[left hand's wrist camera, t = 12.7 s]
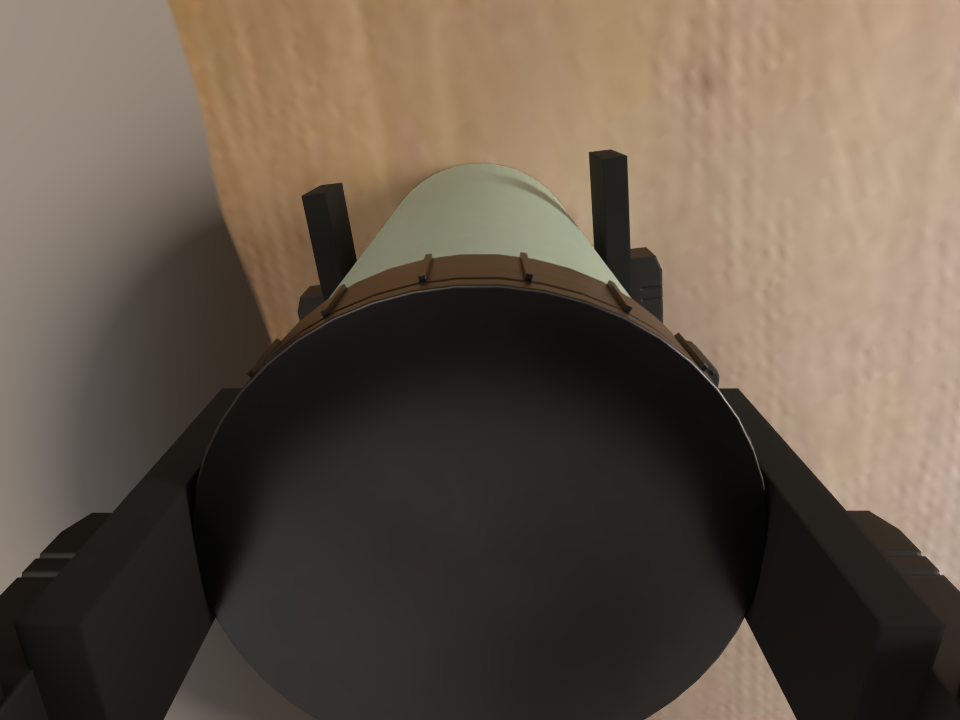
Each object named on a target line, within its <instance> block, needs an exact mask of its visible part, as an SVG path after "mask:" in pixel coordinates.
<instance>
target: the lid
mask: <svg viewBox="0 0 960 720" xmlns="http://www.w3.org/2000/svg"><path fill="white" fill-rule="evenodd" d="M706 369H708V366H707V365H706V364H705V363H704V362H703V360H702V359H701V358H700V357H699V356H698V355H697V353H696V352H695V351H694V350H693V349H692V347H691V346H690V345H689V344H688V343H687V342H686V340H685V339H684V338H683V337H682V336H681V335H680V333H677V334H676V335H675V336H674V335H673V334H672V333H671V332H670V331H669V330H668V329H667V328H666V327H665V326H664V324H663V323H662V322H661V321H660V320H659V319H657V318H656V317H655V316H654V315H652V314H651V313H650V312H648V311H647V310H646V309H645V308H643V307H642V306H641V305H640V304H638V303H637V302H636V301H634V300H633V299H632V298H630V297H628V296H627V295H625V294H623V293H622V292H621V291H620V290H619V288H618V287H617V286H616V284H615V283H614V282H612V281H610V280H609V281H608V283H607V284H606V283H604V282H602V281H600V280H597V279H595V278H593V277H590V276H588V275H585V274H583V273H580V272H578V271H575V270H573V269H571V268H567V267H564V266H560V265H556V264H552V263H548V262H545V261H541V260H537V259H532V258H528V256H527V253H524V252H520V257H516V256H508V255H500V254H459V255H452V256H444V257H437V258H433V257H432V254H426V255H425V257H424V259H423V260H419V261H416V262H412V263H408V264H405V265H401V266H397V267H394V268H390V269H387V270H385V271H382V272H380V273H378V274H375V275H373V276H370V277H368V278H366V279H363V280H361V281H359V282H356V283H354V284H353V285H351V286H349V287H348V288H347V287H346V286H345V284H343V285H341V286H339V287H338V289H337V290H336V291H335V293H334V294H333V295H332V297H331V298H329V299H327V300H326V301H325V302H323V303H322V304H321V305H320V306H318V307H317V308H316V309H315V310H313V311H312V312H311V313H310V314H308V315H307V316H306V317H305V318H303V319H302V320H301V321H300V322H299V323H298V324H297V325H296V326H295V327H294V328H293V329H292V330H291V331H290V332H289V333H288V334H287V336H286V337H285V338H284V339H283V340H282V341H280V340H279V339H278V338H277V339H276V340H275V341H274V342H273V343H272V345H271V346H270V347H269V348H268V349H267V350H266V352H265V353H264V354H263V355H262V356H261V358H260V359H259V360H258V361H257V362H256V364H255V365H254V366H253V367H252V368H251V369H250V371H249V372H248V373H247V375H249V376H250V377H251V378H250V380H249V381H248V382H247V383H246V384H245V386H244V387H243V388H242V389H241V391H240V392H239V393H238V395H237V396H236V398H235V399H234V401H233V402H232V404H231V405H230V407H229V408H228V409H227V411H226V412H225V414H224V415H223V417H222V418H221V420H220V422H219V424H218V426H217V428H216V430H215V432H214V434H213V437H212V439H211V441H210V443H209V445H208V447H207V449H206V452H205V455H204V459H203V462H202V465H201V469H200V472H199V476H198V479H197V483H196V491H195V499H194V507H193V538H194V545H195V550H196V555H197V561H198V566H199V571H200V576H201V581H202V585H203V588H204V590H205V593H206V596H207V599H208V602H209V604H210V607H211V609H212V611H213V612H214V614H215V616H216V618H217V620H218V622H219V624H220V626H221V628H222V629H223V631H224V633H225V635H226V636H227V637H228V639H229V640H230V642H231V643H232V644H233V646H234V647H235V648H236V650H237V651H238V653H239V654H240V655H241V657H242V658H243V659H244V660H245V661H246V663H247V664H248V665H249V666H250V667H251V668H252V669H253V670H254V671H255V672H256V673H257V674H258V675H259V676H260V678H261V679H262V680H263V681H264V682H266V683H267V684H268V685H269V686H270V687H272V688H273V689H274V690H275V691H276V692H278V693H279V694H280V695H281V696H282V697H283V698H285V699H286V700H287V701H288V702H290V703H291V704H293V705H295V706H296V707H297V708H299V709H300V710H302V711H303V712H305V713H306V714H308V715H309V716H311V717H312V718H314V719H316V720H644V719H646V718H648V717H650V716H651V715H653V714H654V713H656V712H657V711H659V710H660V709H662V708H663V707H665V706H666V705H667V704H669V703H670V702H672V701H673V700H675V699H676V698H677V697H678V696H680V695H681V694H682V693H683V692H684V691H685V690H687V689H688V688H689V687H690V686H691V685H692V684H694V683H695V682H696V681H697V680H698V679H699V678H700V677H701V676H702V675H703V674H704V673H705V672H706V671H707V669H708V668H709V667H710V666H711V665H712V664H713V663H714V662H715V661H716V660H717V659H718V657H719V656H720V655H721V653H722V652H723V651H724V649H725V648H726V646H727V645H728V644H729V642H730V641H731V639H732V638H733V637H734V635H735V634H736V632H737V631H738V629H739V627H740V625H741V623H742V621H743V619H744V617H745V615H746V613H747V611H748V609H749V608H750V606H751V603H752V600H753V598H754V595H755V592H756V589H757V586H758V583H759V578H760V573H761V568H762V563H763V558H764V552H765V547H766V541H767V525H768V510H767V502H766V495H765V487H764V480H763V477H762V473H761V470H760V467H759V463H758V460H757V457H756V454H755V450H754V448H753V445H752V442H751V439H750V437H749V436H748V435H747V433H746V431H745V429H744V427H743V425H742V423H741V421H740V419H739V417H738V416H737V414H736V413H735V411H734V410H733V408H732V407H731V406H730V404H729V403H728V401H727V400H726V399H725V397H724V396H723V394H722V393H721V391H720V390H719V389H718V387H717V386H716V385H715V384H714V382H713V381H712V380H711V379H710V378H709V376H708V375H707V374H706V373H705V370H706Z"/></svg>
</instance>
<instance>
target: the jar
mask: <svg viewBox="0 0 960 720" xmlns="http://www.w3.org/2000/svg"><path fill="white" fill-rule="evenodd" d="M520 252H524V253H527V256H528V258H532V259H537V260H541V261H545V262H548V263H552V264H556V265H560V266H564V267H567V268H571V269H573V270H575V271H578V272H580V273H583V274H585V275H588V276H590V277H593V278H595V279H597V280H600V281H602V282H604V283H606V284H607V283H608V281H609V280H610V281H612V282H614V283H615V284H616V286H617V287H618V288H619V290H620V291H621V292H622V293H623V294H625V295H627V296H628V297H630V296H629V294H628V293H627V292H626V290H625V289H624V288H623V287H622V285H621V284H620V283H619V281H618V280H617V279H616V277H615V276H614V275H613V273H612V272H611V271H610V269H609V268H608V267H607V265H606V264H605V263H604V261H603V260H602V259H601V257H600V256H599V255H598V253H597V252H596V251H595V249H594V248H593V247H592V245H591V244H590V243H589V241H588V240H587V239H586V237H585V236H584V235H583V233H582V232H581V231H580V229H579V228H578V227H577V225H576V224H575V223H574V221H573V220H572V219H571V217H570V216H569V215H568V213H567V212H566V211H565V209H564V208H563V207H562V205H561V204H560V203H559V201H558V200H557V199H556V198H555V197H554V196H553V195H552V194H551V192H550V191H549V190H548V189H547V188H545V187H544V186H543V185H542V184H540V183H539V182H538V181H536V180H535V179H533V178H531V177H530V176H528V175H526V174H525V173H522V172H520V171H517V170H515V169H513V168H509V167H505V166H502V165H496V164H488V163H472V164H465V165H459V166H455V167H452V168H448V169H445V170H443V171H441V172H438V173H436V174H434V175H432V176H431V177H429V178H427V179H426V180H424V181H423V182H421V183H420V184H419V185H418V186H416V187H415V188H414V189H413V190H412V191H411V192H410V193H409V194H408V195H407V196H406V197H405V198H404V199H403V201H402V202H401V203H400V205H399V206H398V207H397V209H396V210H395V211H394V213H393V214H392V215H391V217H390V218H389V219H388V221H387V222H386V223H385V225H384V226H383V227H382V229H381V230H380V231H379V233H378V234H377V235H376V237H375V238H374V239H373V241H372V242H371V243H370V245H369V246H368V247H367V248H366V250H365V251H364V252H363V254H362V255H361V256H360V258H359V259H358V260H357V262H356V263H355V264H354V266H353V267H352V268H351V270H350V271H349V272H348V274H347V275H346V276H345V278H344V279H343V280H342V282H341V283H340V284H339V286H341V285H343V284H345V286H346V287H347V288H348V287H349V286H351V285H353V284H354V283H356V282H359V281H361V280H363V279H366V278H368V277H370V276H373V275H375V274H378V273H380V272H382V271H385V270H387V269H390V268H394V267H397V266H401V265H405V264H408V263H412V262H416V261H419V260H423V259H424V257H425V255H426V254H432V257H433V258H437V257H444V256H452V255H459V254H500V255H508V256H516V257H520ZM339 286H338V287H339ZM338 287H337V288H336V290H337V289H338ZM336 290H335V291H336ZM335 291H334V292H333V294H334V293H335ZM333 294H332V295H333ZM332 295H331V296H330V298H331V297H332ZM630 298H631V297H630Z"/></svg>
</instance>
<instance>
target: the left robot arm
mask: <svg viewBox="0 0 960 720" xmlns="http://www.w3.org/2000/svg"><path fill="white" fill-rule="evenodd" d="M719 390H720V391H721V393H722V394H723V396H724V397H725V399H726V400H727V401H728V403H729V404H730V406H731V407H732V408H733V410H734V411H735V413H736V414H737V416H738V417H739V419H740V421H741V423H742V425H743V427H744V429H745V431H746V433H747V435H748V436H749V437H750V439H751V442H752V445H753V448H754V450H755V454H756V457H757V460H758V463H759V467H760V470H761V473H762V477H763V480H764V487H765V495H766V502H767V510H768V525H767V541H766V547H765V552H764V558H763V563H762V568H761V573H760V578H759V583H758V586H757V589H756V592H755V595H754V598H753V600H752V603H751V606H750V608H749V609H748V611H747V613H746V615H745V619H746V621H747V622H748V624H749V626H750V628H751V630H752V632H753V634H754V636H755V638H756V640H757V642H758V644H759V646H760V648H761V650H762V652H763V654H764V656H765V658H766V660H767V662H768V664H769V666H770V668H771V670H772V672H773V674H774V676H775V678H776V679H777V681H778V683H779V685H780V687H781V689H782V691H783V693H784V695H785V697H786V699H787V701H788V703H789V705H790V707H791V709H792V711H793V713H794V715H795V717H796V719H797V720H960V591H959V590H958V589H957V588H956V587H955V586H954V585H953V584H952V583H951V582H950V581H949V580H948V579H947V578H946V577H945V576H944V575H940V574H939V570H938V569H937V568H936V567H935V566H934V565H933V564H932V563H931V562H930V561H929V560H928V559H927V557H926V556H921V551H920V550H919V549H918V548H917V547H916V546H915V545H914V544H913V543H912V542H911V541H910V540H909V539H908V538H907V537H906V536H905V535H904V534H903V533H902V532H901V531H900V530H899V529H898V528H896V527H894V526H893V525H891V524H889V523H888V522H886V521H884V520H883V519H881V518H880V517H878V516H876V515H875V514H873V513H871V512H870V511H846V510H845V509H844V508H843V506H842V505H841V504H840V503H839V502H838V501H837V500H836V499H835V497H834V496H833V495H832V494H831V493H830V492H829V491H828V490H827V488H826V487H825V486H824V485H823V484H822V483H821V482H820V481H819V479H818V478H817V477H816V476H815V475H814V474H813V473H812V471H811V470H810V469H809V468H808V467H807V466H806V465H805V464H804V462H803V461H802V460H801V459H800V458H799V457H798V456H797V455H796V453H795V452H794V451H793V450H792V449H791V448H790V447H789V446H788V444H787V443H786V442H785V441H784V440H783V439H782V438H781V436H780V435H779V434H778V433H777V432H776V431H775V430H774V429H773V427H772V426H771V425H770V424H769V423H768V422H767V421H766V420H765V418H764V417H763V416H762V415H761V414H760V413H759V412H758V411H757V409H756V408H755V407H754V406H753V405H752V404H751V403H750V401H749V400H748V399H747V398H746V397H745V396H744V395H743V394H742V392H741V391H740V390H739V389H719ZM240 391H241V389H222V390H221V391H220V392H219V393H218V394H217V395H216V396H215V397H214V399H213V400H212V401H211V402H210V403H209V404H208V405H207V406H206V408H205V409H204V410H203V411H202V412H201V413H200V414H199V415H198V417H197V418H196V419H195V420H194V421H193V422H192V423H191V425H190V426H189V427H188V428H187V429H186V430H185V431H184V432H183V434H182V435H181V436H180V437H179V438H178V439H177V440H176V441H175V443H174V444H173V445H172V446H171V447H170V448H169V449H168V451H167V452H166V453H165V454H164V455H163V456H162V457H161V458H160V460H159V461H158V462H157V463H156V464H155V465H154V466H153V467H152V469H151V470H150V471H149V472H148V473H147V474H146V475H145V476H144V478H143V479H142V480H141V481H140V482H139V483H138V484H137V486H136V487H135V488H134V489H133V490H132V491H131V492H130V493H129V495H128V496H127V497H126V498H125V499H124V500H123V501H122V502H121V504H120V505H119V506H118V507H117V508H116V509H115V510H114V512H113V513H91V514H90V515H88V516H86V517H85V518H83V519H82V520H80V521H78V522H77V523H75V524H74V525H72V526H70V527H69V528H67V529H65V530H64V531H62V532H61V533H60V534H59V535H58V536H57V537H56V538H55V539H54V540H53V541H52V542H51V543H50V544H49V545H48V546H47V547H46V549H45V550H44V551H43V552H42V553H41V554H40V558H39V559H35V560H34V561H33V562H32V563H31V564H30V565H29V566H28V567H27V568H26V569H25V570H24V571H23V572H22V577H21V578H17V579H16V580H15V581H14V582H13V583H12V584H11V585H10V586H9V587H8V588H7V589H6V590H5V591H4V592H3V593H2V594H1V595H0V720H164V718H165V716H166V714H167V712H168V710H169V708H170V706H171V704H172V702H173V700H174V698H175V696H176V694H177V692H178V690H179V688H180V686H181V684H182V682H183V680H184V678H185V676H186V674H187V672H188V670H189V668H190V666H191V665H192V662H193V661H194V659H195V657H196V655H197V653H198V651H199V649H200V647H201V645H202V643H203V641H204V639H205V637H206V635H207V633H208V631H209V629H210V627H211V625H212V623H213V621H214V619H215V617H216V616H215V614H214V612H213V611H212V609H211V607H210V604H209V602H208V599H207V596H206V593H205V590H204V588H203V585H202V581H201V576H200V571H199V566H198V561H197V555H196V550H195V545H194V538H193V507H194V499H195V491H196V483H197V479H198V476H199V472H200V469H201V465H202V462H203V459H204V455H205V452H206V449H207V447H208V445H209V443H210V441H211V439H212V437H213V434H214V432H215V430H216V428H217V426H218V424H219V422H220V420H221V418H222V417H223V415H224V414H225V412H226V411H227V409H228V408H229V407H230V405H231V404H232V402H233V401H234V399H235V398H236V396H237V395H238V393H239V392H240Z"/></svg>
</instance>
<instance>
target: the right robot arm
mask: <svg viewBox="0 0 960 720" xmlns="http://www.w3.org/2000/svg"><path fill="white" fill-rule="evenodd" d="M589 162H590V180H591V198H592V216H593V234H594V249H595V251H596V252H597V253H598V255H599V256H600V257H601V259H602V260H603V261H604V263H605V264H606V265H607V267H608V268H609V269H610V271H611V272H612V273H613V275H614V276H615V277H616V279H617V280H618V281H619V283H620V284H621V285H622V287H623V288H624V289H625V290H626V292H627V293H628V294H629V296H630V297H631V298H632V299H633V300H634V301H636V302H637V303H638V304H640V305H641V306H642V307H643V308H645V309H646V310H647V311H648V312H650V313H651V314H652V315H654V316H655V317H656V318H657V319H659V320H660V321H661V322H662V323H663V300H662V297H663V295H662V269H661V267H660V264H659V262H658V260H657V258H656V256H655V255H654V254H653V253H652V252H651V251H649V250H648V249H647V248H646V247H644V248H636V249H630V226H629V198H628V170H627V156H626V155H623V154H621V153H618V152H616V151H613V150H603V151H595V152H589ZM302 201H303V205H304V210H305V215H306V219H307V224H308V229H309V233H310V238H311V243H312V247H313V252H314V257H315V261H316V266H317V271H318V275H319V280H320V285H316V286H310V287H309V288H308V289H307V290H306V291H305V292H304V294H303V295H302V296H301V297H300V302H299V308H298V315H299V319H300V321H301V320H302V319H303V318H305V317H306V316H307V315H308V314H310V313H311V312H312V311H313V310H315V309H316V308H317V307H318V306H320V305H321V304H322V303H323V302H325V301H326V300H327V299H329V298H330V296H331V295H332V294H333V292H334V291H335V290H336V288H337V287H338V286H339V284H340V283H341V282H342V280H343V279H344V278H345V276H346V275H347V274H348V272H349V271H350V270H351V268H352V267H353V266H354V264H355V263H356V262H357V259H356V254H355V249H354V244H353V238H352V233H351V228H350V223H349V217H348V212H347V207H346V202H345V196H344V191H343V186H342V183H336V184H328V185H321V186H319V187H317V188H315V189H313V190H312V191H310V192H308V193H306V194H304V195H302ZM686 342H687V343H688V344H689V345H690V346H691V347H692V349H693V350H694V351H695V352H696V353H697V355H698V356H699V357H700V358H701V359H702V360H703V362H704V363H705V364H706V365H707V366H708V369H706V370H705V373H706V374H707V375H708V376H709V378H710V379H711V380H712V381H713V382H714V384H715V385H716V386H717V387H718V383H719V374H718V372H717V370H716V368H715V367H714V366H713V365H712V364H711V363H710V361H709V360H708V359H707V358H706V357H705V356H704V355H703V353H702V352H701V351H700V350H699V349H698V348H697V347H696V345H694V344H693V343H692V342H690V341H686Z"/></svg>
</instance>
